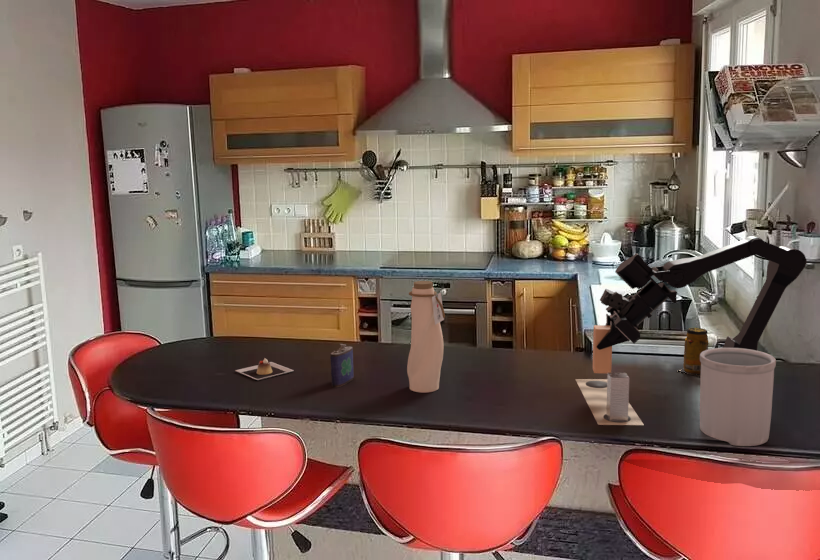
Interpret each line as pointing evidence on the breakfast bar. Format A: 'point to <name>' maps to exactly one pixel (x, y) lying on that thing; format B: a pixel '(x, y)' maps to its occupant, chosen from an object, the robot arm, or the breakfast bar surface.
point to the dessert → (265, 369)
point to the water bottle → (425, 338)
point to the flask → (342, 366)
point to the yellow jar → (694, 350)
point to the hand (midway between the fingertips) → (596, 346)
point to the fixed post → (617, 396)
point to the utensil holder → (736, 395)
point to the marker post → (601, 351)
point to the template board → (603, 402)
